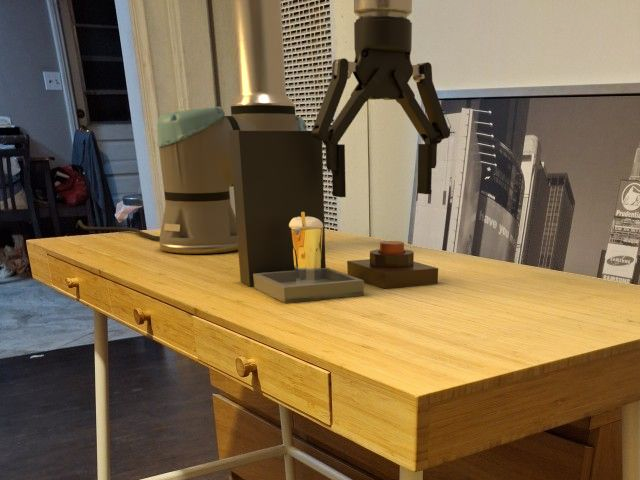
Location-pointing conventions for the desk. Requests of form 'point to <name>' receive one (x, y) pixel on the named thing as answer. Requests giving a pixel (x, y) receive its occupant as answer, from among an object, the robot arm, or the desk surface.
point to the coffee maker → (280, 212)
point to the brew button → (392, 247)
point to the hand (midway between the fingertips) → (382, 195)
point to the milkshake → (306, 248)
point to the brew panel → (392, 270)
